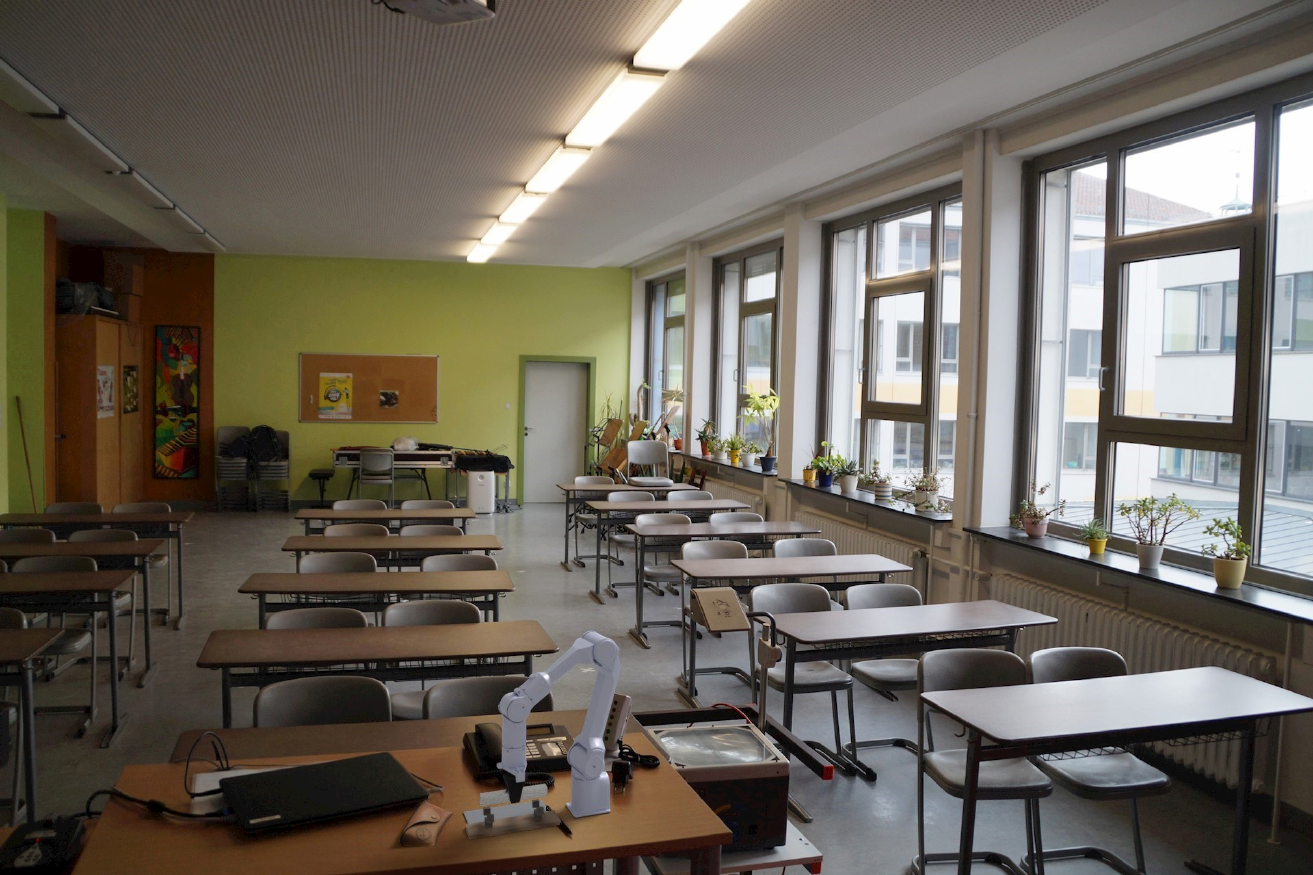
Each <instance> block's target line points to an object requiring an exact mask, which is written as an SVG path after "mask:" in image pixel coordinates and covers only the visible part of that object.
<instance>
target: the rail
mask: <svg viewBox="0 0 1313 875" xmlns="http://www.w3.org/2000/svg"><path fill="white" fill-rule="evenodd" d="M545 797H548V786H547V784H546V783H540V784H535V785H534V784H533V785H528V786H524V787H523V790H522V795H521V799H520V801H525V800H533V799H539V798H545ZM505 803H511V802H510V798H509V791H508V789H506V788H505V789H500V790H494V791H487V792H480V793H479V804H480V807H488V806H492V805H497V804H498V805H499V804H505Z"/></svg>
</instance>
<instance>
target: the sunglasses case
mask: <svg viewBox="0 0 1313 875" xmlns="http://www.w3.org/2000/svg"><path fill="white" fill-rule="evenodd" d="M453 814H454V812H453V811H449V810H446V809H444V808H441V807H439V806H437V805H435V804H433V803H430V802H428V801H427V800H426V799H424V800H423V801H422V803H421V805H420V806H419V807H418V808H417V810H416V811H415V813H413V815H412V817H411V818H410V820H409V822H407V824H406V826H405V827H404V830H403V831H402V833H401V835H400V837H399V844H400V846H401V847H423V846H424V847H432V846H433V847H435V846H436V843H437V840H438V837H439V835H440V834H441V832H442V830H443V828H444V827H445V825H446V823H447V822H448V820H449V819H450V818H451V817H452V816H453Z"/></svg>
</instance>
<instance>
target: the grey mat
mask: <svg viewBox="0 0 1313 875" xmlns="http://www.w3.org/2000/svg"><path fill="white" fill-rule="evenodd" d="M539 801H540V803H539V807H541V806H543V807H544V812H547V811H546V807H547V806H546V804H545V802H544V801H543V799H539ZM490 808H491V814H494V820H496V819H502V818H509V817H515V816H521V815H528V814H534V809H536V808H533V807H532V800H531V801H525V802H519V803H514V804H511V803H510V804H506V805H499V806H492V807H491V806H490ZM463 814H464V818H465V820H466V824H470V823H477V822H483V821H485V817H487V815H486V816H484V815H483V808H479V809H478V808H477V809H473V810H466V811H463Z"/></svg>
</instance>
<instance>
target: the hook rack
mask: <svg viewBox="0 0 1313 875" xmlns="http://www.w3.org/2000/svg"><path fill="white" fill-rule="evenodd" d="M539 800H540V799H539V798H535V799H531V801H532V807H533V808H536V809H534V814H528V815H521V816H515V817H509V818H502V819H496V820H494V814H491V806H482V807H483V808H482V809H483V815H484V816H486V815H487V817H485V821H483V822H477V823H470V824H468V823H465V824H464V825H465V826H464V829H465V831H466V834H467V836H468V838H469V840H475V839H481V838H488V837H494V836H499V835H500V836H501V835H506V834H511V833H512V834H514V833H519V832H526V831H529V830H530V831H531V830H538V829H543V828H548V827H549V828H550V827H555V826H561V825H560V823H561V824H562V820H561V818H560V816H559V814H557V812H556V810H555V809H554V810H549V811H547V812H544V807H543V806H541V807H539V803H540V801H539Z"/></svg>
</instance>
